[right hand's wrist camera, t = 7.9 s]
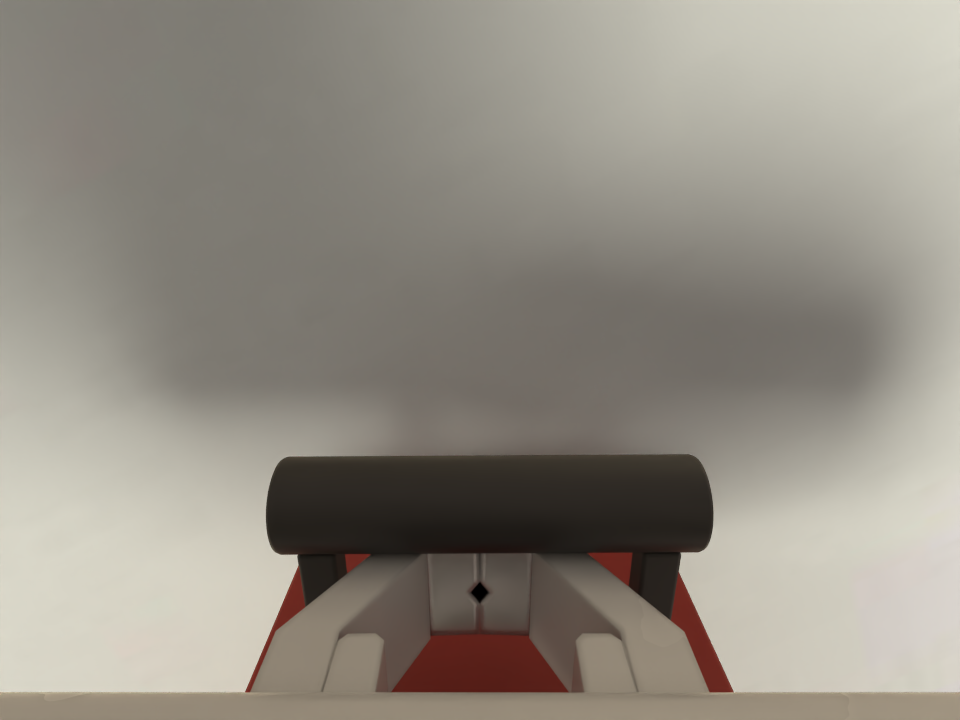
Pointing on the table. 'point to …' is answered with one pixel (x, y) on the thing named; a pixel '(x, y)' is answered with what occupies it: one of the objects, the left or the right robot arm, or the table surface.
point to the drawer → (495, 539)
